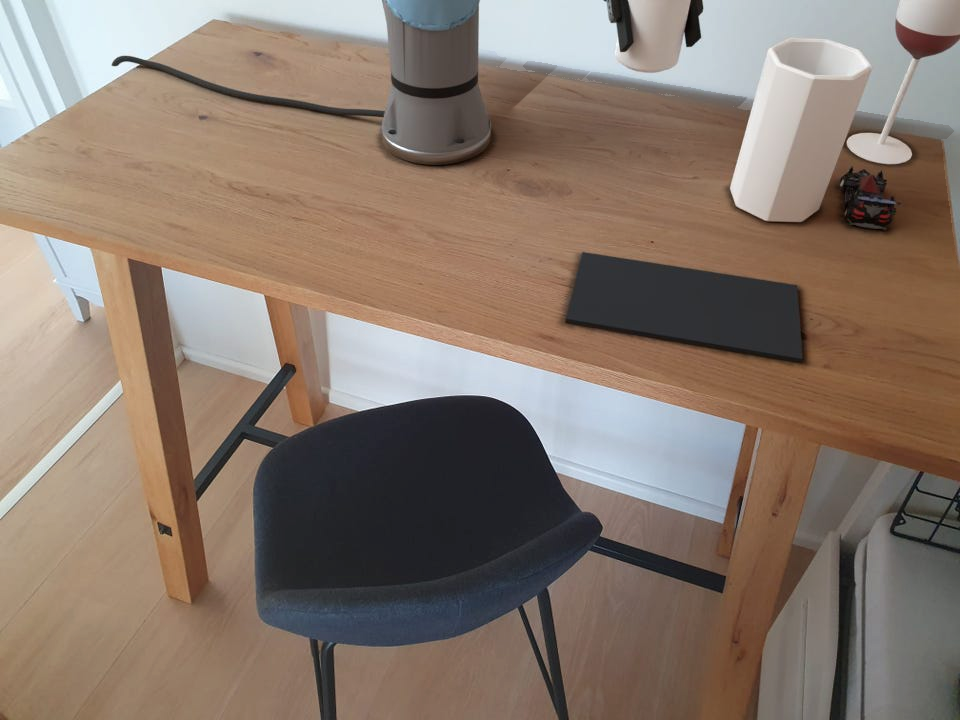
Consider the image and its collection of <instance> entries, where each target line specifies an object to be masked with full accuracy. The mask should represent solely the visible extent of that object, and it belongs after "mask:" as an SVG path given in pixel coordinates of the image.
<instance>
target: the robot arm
mask: <svg viewBox="0 0 960 720" xmlns="http://www.w3.org/2000/svg"><path fill="white" fill-rule="evenodd" d="M603 1H604V2H605V3H606V9H607V16H608V21H609V23H610V24H616V32H617V36H618V40H619V48H620V52H626V51H627V50H628V49H629V48H630V46H631V45H632V44H633V43H634V41H633V34H632V26H631V19H630V11H629V4H628V0H603ZM381 2H382V7H383V13H384V17H385V23H386V29H387V31H386V32H387V42H388V56H389V57H388V58H389V68H390V69H389V70H390V82H391V83H390V85H391V86H390V90H389V94H388V99H387V102H386V106H385V110H380V109H379V110H377V109H365V108H343V107H342V108H340V107H333V106H327V105H322V104H318V103H312V102H307V101H304V100H303V101H302V100H296V99H293V98H292V99H290V98H283V97H277V96H268V95H262V94H255V93H251V92H246V91H241V90H238V89H234V88H229V87H226V86H223V85H219V84H216V83H213V82H210V81H208V80H205V79H201V78H199V77H197V76H194V75H192V74H188V73H187V72H183V71H181V70H178V69H176V68H174V67H171V66H168V65H166V64H163V63H160V62H155V61H152V60H147V59H143V58H140V57H136V56H131V55H119V56H117V57H116V58H114V59H113V61H112V63H111V66H112V67H118V66H119V65H121V64H122V63H126V62H127V63H132V64H133V63H134V64H137V65H140V66H144V67H148V68H152V69H157V70H159V71H163V72H165V73H168V74H170V75H172V76H175V77H177V78H180V79H183V80H186V81H188V82H190V83H193V84H196V85H198V86H200V87H203V88H206V89H209V90H212V91H215V92H219V93H222V94H225V95H228V96H233V97H236V98H241V99H245V100H250V101H256V102H262V103H269V104H274V105H275V104H276V105H283V106H289V107H297V108H301V109H307V110H311V111H316V112H320V113H325V114H326V113H327V114H332V115H339V116H341V115H342V116H357V117H359V116H361V117H373V118H374V117H375V118H382V122H381V139H382V143H383V146H384V147H385V149H386V150H387V151H388V152H389V153H391V154H392V155H393V156H395V157H397V158H399V159H401V160H404V161H407V162H410V163H413V164H420V165H428V166H429V165H430V166H439V165H440V166H441V165H451V164H456V163H461V162H464V161H467V160H470V159H472V158H474V157H477V156H478V155H480V154H481V153H483V152H484V151H485V150H486V149H487V148H488V146H489V145H490V142H491V140H492V139H491V137H492V135H491V133H492V131H491V130H492V125H493V124H492V123H491V122H492V121H491V118H490V116H489V112H488V110H487V107H486V104H485V101H484V98H483V95H482V92H481V88H480V86H479V44H480V43H479V42H480V41H479V39H480V37H479V36H480V35H479V31H480V30H479V29H480V25H479V24H480V2H481V0H381ZM703 12H704V2H703V0H691V1H690V6H689V11H688V16H687V21H686V26H685V31H684V40H685V48H692V47H694V46H695V45H696V44H697V43H698V42H699V41H700V40H701V39H702V32H701V25H700V24H701V23H700V16H701V14H702V13H703Z"/></svg>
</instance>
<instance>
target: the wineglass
mask: <svg viewBox="0 0 960 720" xmlns="http://www.w3.org/2000/svg"><path fill="white" fill-rule="evenodd" d="M894 28H895V29H894V30H895V31H894V32H895V37H896V39H897V41H898V42H899V44H900V45H901V47H903V49H904V50H905V51H906V52H907V53H909V54H910V55H911V56H912V58H911V61H910V64H909V66H908V69H907V71H906V73H905V75H904V78H903V80H902V82H901V85H900V88H899V89H898V92H897V95H896V97H895V100H894V102H893V104H892V107H891V109H890V112H889V114H888V116H887V119H886V122H885V124H884V126H883V128H882V131H881V133H877V132H875V133H874V132H860V133H855V134H852V135H851V136H849V137H848V138H847V139H846V146H847V148H848V149H849V150H850V152H852V153H853V154H854V155H856V156H858V157H859V158H862V159H864V160H865V161H869V162H874V163H877V164H884V165H899V164H903V163H906V162H908V161H909V160H911V158H912V156H913V153H912V149H911V148H910V147H909V145H908V144H906V143H904V142H903V141H901V140H900V139H897V138H895V137H892V136H890V135H889V134H890V131H891V129H892V126H893V124H894V122H895V120H896V118H897V115H898V112H899V110H900V108H901V105H902V103H903V100H904V98H905V96H906V93H907V91H908V89H909V86H910V84H911V81H912V79H913V76H914V74H915V73H916V70H917V67H918V65H919V62H920V60H921V59H922V58H927V57H930V56H931V57H933V56H935V55H938V54H942V53H944V52H946V51H947V50H949V49H951V48H953V46H954V45H956V44H957V43H958V42H960V0H899V2H898V5H897V9H896V13H895V23H894Z"/></svg>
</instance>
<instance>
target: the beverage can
mask: <svg viewBox="0 0 960 720" xmlns="http://www.w3.org/2000/svg"><path fill="white" fill-rule="evenodd" d="M690 1H691V0H628V4H629V11H630V19H631V26H632V34H633V41H634V43H633V44H632V45H631V46H630V48H629V49H628V50H627V51H626V52H620V48H619V40H618V35H617V37H616V44H615V51H614V58H615V59H616V61H617V62H618V63H619V64H621V65H622V66H624V67H626V68H627V69H629V70H632V71H635V72H639V73H644V74H645V73H647V74H654V73H655V74H656V73H662V72H664V71H668V70H671V69H672V68H675V66H677V64H678V63H679V59H680V55H681V50H682V45H683V40H684V36H685V34H684V31H685V26H686V21H687V16H688V11H689V6H690Z"/></svg>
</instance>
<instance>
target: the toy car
mask: <svg viewBox="0 0 960 720" xmlns="http://www.w3.org/2000/svg"><path fill="white" fill-rule="evenodd" d="M887 182H888V180H887V179H885V178H884V173H883V171H882V169H879V170H878V172H877V175H874V174H871V173H870V172H868V171H867V169H866V168H862V169H861V170H859V171H857V172H854V166H853V165H851V166H850V167H849V170H848V171H847V172H846V173H845V174H844V175H842V176H841V177H840V178H839V189H840V191H844V204H843V208H844V209H845V210H844V214H843V215H844V216H843V217H844V220H846V222H849V226H856V227H861V228H867V229H873V230H875V229H876V230H884V231H886V230H887V227H889V226H890V224H891V223H892V222H893V221H894V220H893V219H894V215H896V213H897V207H895V205H898V206H900V205H901V204H902V202H901V201H895V200H896V196H894V195H892V196H891V197H890V199H885V197H884V196H883V194H884V193H885V191H886V186H887V185H888V183H887Z"/></svg>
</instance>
